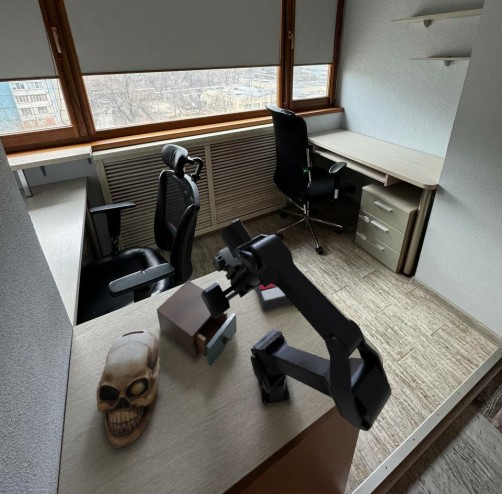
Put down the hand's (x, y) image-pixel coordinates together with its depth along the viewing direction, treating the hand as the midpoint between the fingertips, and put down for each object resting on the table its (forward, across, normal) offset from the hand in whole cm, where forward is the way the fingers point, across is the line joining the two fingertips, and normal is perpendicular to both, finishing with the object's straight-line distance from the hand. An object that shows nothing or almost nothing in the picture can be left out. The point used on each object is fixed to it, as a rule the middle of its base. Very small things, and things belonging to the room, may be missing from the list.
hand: (230, 294), depth 70 cm
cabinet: (+19, +7, 0) cm, 20 cm away
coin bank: (+17, +26, +4) cm, 31 cm away
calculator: (+16, -20, +5) cm, 26 cm away
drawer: (+15, +6, +5) cm, 17 cm away
